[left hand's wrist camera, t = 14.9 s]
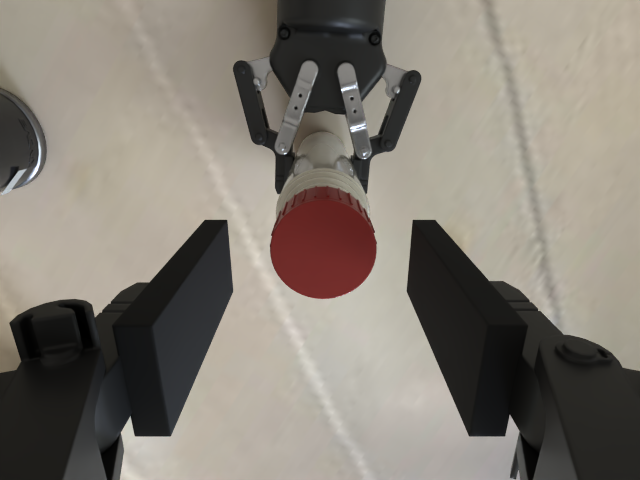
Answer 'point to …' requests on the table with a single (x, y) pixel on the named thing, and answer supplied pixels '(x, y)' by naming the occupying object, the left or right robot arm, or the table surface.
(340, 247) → the cap
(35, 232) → the table surface
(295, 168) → the bottle
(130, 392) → the left robot arm
